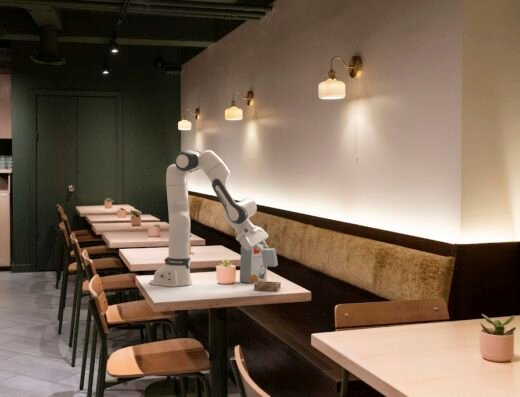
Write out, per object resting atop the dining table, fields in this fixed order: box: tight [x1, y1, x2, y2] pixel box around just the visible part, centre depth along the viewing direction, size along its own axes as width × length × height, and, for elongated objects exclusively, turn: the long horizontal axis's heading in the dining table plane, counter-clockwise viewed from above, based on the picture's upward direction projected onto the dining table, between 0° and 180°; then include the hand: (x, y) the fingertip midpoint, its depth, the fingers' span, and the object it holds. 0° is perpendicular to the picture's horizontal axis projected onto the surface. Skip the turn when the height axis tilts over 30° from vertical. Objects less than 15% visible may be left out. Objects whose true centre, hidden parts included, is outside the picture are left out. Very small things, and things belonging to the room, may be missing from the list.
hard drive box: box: [239, 244, 269, 284], centre depth 355 cm, size 16×8×20 cm, turn 143°
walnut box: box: [253, 280, 282, 292], centre depth 334 cm, size 12×10×3 cm
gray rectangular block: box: [261, 247, 279, 268], centre depth 331 cm, size 7×3×9 cm, turn 62°
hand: (265, 250), depth 331 cm, fingers closed on gray rectangular block, 3 cm apart
